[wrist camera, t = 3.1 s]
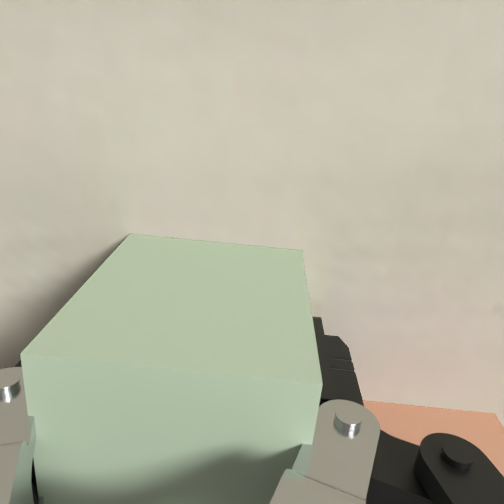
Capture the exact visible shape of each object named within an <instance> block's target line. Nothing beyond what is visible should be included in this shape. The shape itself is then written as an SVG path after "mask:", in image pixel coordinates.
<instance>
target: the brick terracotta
mask: <svg viewBox="0 0 504 504" xmlns="http://www.w3.org/2000/svg"><path fill="white" fill-rule="evenodd" d="M363 404H364V407H365V408H367V409H368V410H369V411H371V412H372V413H373V414H374V416H375V417H376V418H377V420H378V422H379V424H380V429H381V430H383V431H384V432H386V433H387V434H389V435H391V436H394V437H396V438H399V439H401V440H404V441H407V442H410V443H413V444H416V445H419V446H420V443H421V441H422V439H423V438H424V437H426V436H427V435H429V434H432V433H448V434H452V435H456V436H458V437H461V438H463V439H465V440H467V441H469V442H471V443H472V444H474V445H475V446H476V447H478V448H479V449H480V450H481V451H482V452H483V453H484V454H485V455H486V456H487V457H488V458H489V460H490V461H491V462H492V463H493V464H494V466H495V467H496V468H497V469H498V470H499V472H500V473H501V474H502V475H503V476H504V427H503V426H502V424H501V423H500V421H499V420H498V418H497V417H496V415H495V414H492V413H482V412H473V411H463V410H453V409H443V408H433V407H424V406H414V405H404V404H394V403H384V402H374V401H365V400H363Z"/></svg>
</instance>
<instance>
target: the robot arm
mask: <svg viewBox="0 0 504 504" xmlns="http://www.w3.org/2000/svg"><path fill="white" fill-rule="evenodd" d="M312 318H313V324H314V331H315V337H316V344H317V350H318V357H319V363H320V370H321V376H322V383H323V386H322V392H321V397H320V403H319V409H318V414H317V420H316V426H315V431H314V437H313V443H312V445H310V444H302V446H301V449H300V451H299V453H298V456H297V458H296V460H295V463H294V465H293V467H292V469H289V468H287V469H286V470H285V471H284V473H283V475H282V477H281V479H280V482H279V484H278V486H277V488H276V491H275V493H274V495H273V497H272V500H271V502H270V504H504V476H503V475H502V474H501V473H500V472H499V470H498V469H497V468H496V467H495V466H494V464H493V463H492V462H491V461H490V460H489V458H488V457H487V456H486V455H485V454H484V453H483V452H482V451H481V450H480V449H479V448H478V447H476V446H475V445H474V444H472V443H471V442H469V441H467V440H465V439H463V438H461V437H458V436H456V435H452V434H448V433H432V434H429V435H427V436H426V437H424V438H423V439H422V441H421V443H420V446H419V445H416V444H413V443H410V442H407V441H404V440H401V439H399V438H396V437H394V436H391V435H389V434H387V433H386V432H384V431H383V430H381V429H380V424H379V422H378V420H377V418H376V417H375V416H374V414H373V413H372V412H371V411H369V410H368V409H367V408H365V407H364V404H363V400H362V396H361V393H360V389H359V385H358V381H357V378H356V374H355V372H354V367H353V363H352V362H351V360H352V359H351V356H350V352H349V348H348V347H347V346H346V344H345V343H344V342H343V341H342V340H341V339H340V338H339V337H338V336H329V335H324V330H323V325H322V320H321V317H312ZM35 442H36V427H35V419H34V416H28V412H27V404H26V396H25V388H24V381H23V373H22V365H21V360H20V361H19V362H18V364H17V365H16V366H15V367H9V368H4V369H0V504H45V502H44V497H43V496H38V491H37V483H36V475H35V467H34V459H33V454H34V448H35Z"/></svg>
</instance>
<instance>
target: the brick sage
mask: <svg viewBox="0 0 504 504" xmlns="http://www.w3.org/2000/svg"><path fill="white" fill-rule="evenodd" d="M20 357H21V365H22V373H23V381H24V388H25V396H26V404H27V412H28V416H34V419H35V427H36V442H35V448H34V454H33V459H34V467H35V475H36V483H37V491H38V496H43V497H44V502H45V504H270V502H271V500H272V497H273V495H274V493H275V491H276V488H277V486H278V484H279V482H280V479H281V477H282V475H283V473H284V471H285V470H286V469H287V468H289V469H292V467H293V465H294V463H295V460H296V458H297V456H298V453H299V451H300V449H301V446H302V444H310V445H312V443H313V437H314V431H315V426H316V420H317V414H318V409H319V403H320V397H321V392H322V386H323V383H322V376H321V370H320V363H319V357H318V350H317V344H316V337H315V331H314V324H313V318H312V311H311V305H310V299H309V292H308V286H307V279H306V273H305V266H304V260H303V253H302V250H292V249H281V248H271V247H261V246H250V245H240V244H230V243H219V242H209V241H199V240H188V239H178V238H168V237H158V236H147V235H137V234H129V235H128V236H127V237H126V239H125V240H124V241H123V242H122V243H121V244H120V245H119V246H118V247H117V248H116V250H115V251H114V252H113V253H112V254H111V255H110V256H109V257H108V258H107V259H106V260H105V262H104V263H103V264H102V265H101V266H100V267H99V268H98V269H97V270H96V271H95V272H94V274H93V275H92V276H91V277H90V278H89V279H88V280H87V281H86V282H85V283H84V285H83V286H82V287H81V288H80V289H79V290H78V291H77V292H76V293H75V294H74V295H73V297H72V298H71V299H70V300H69V301H68V302H67V303H66V304H65V305H64V306H63V307H62V309H61V310H60V311H59V312H58V313H57V314H56V315H55V316H54V317H53V318H52V320H51V321H50V322H49V323H48V324H47V325H46V326H45V327H44V328H43V329H42V330H41V332H40V333H39V334H38V335H37V336H36V337H35V338H34V339H33V340H32V341H31V342H30V344H29V345H28V346H27V347H26V348H25V349H24V350H23V351H22V352H21V353H20Z"/></svg>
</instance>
